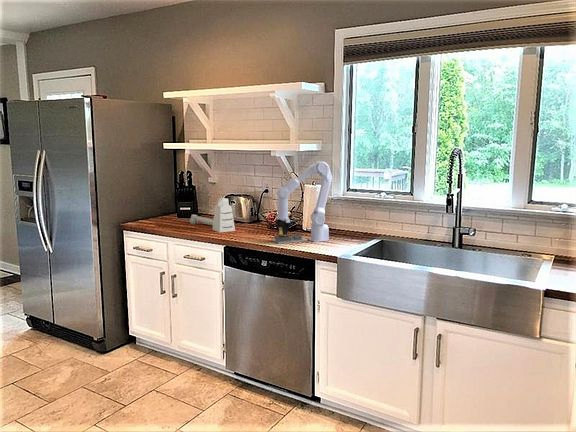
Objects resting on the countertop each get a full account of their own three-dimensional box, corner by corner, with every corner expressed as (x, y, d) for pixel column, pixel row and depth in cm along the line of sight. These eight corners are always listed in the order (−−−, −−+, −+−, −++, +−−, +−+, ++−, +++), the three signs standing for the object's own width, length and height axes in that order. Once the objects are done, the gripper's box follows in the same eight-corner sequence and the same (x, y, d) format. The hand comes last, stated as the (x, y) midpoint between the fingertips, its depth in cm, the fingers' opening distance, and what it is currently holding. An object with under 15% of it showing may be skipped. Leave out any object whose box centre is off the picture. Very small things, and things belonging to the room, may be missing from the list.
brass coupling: (285, 238, 268) (285, 226, 267) (288, 240, 263) (288, 227, 262) (277, 239, 266) (277, 226, 265) (280, 240, 262) (280, 228, 261)
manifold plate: (300, 238, 275) (300, 233, 274) (307, 241, 267) (307, 235, 266) (271, 240, 267) (271, 235, 267) (277, 243, 259) (277, 238, 259)
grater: (227, 228, 306) (226, 197, 302) (235, 230, 297) (234, 198, 294) (212, 229, 300) (211, 198, 297) (219, 232, 291) (219, 199, 288)
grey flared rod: (216, 221, 307) (188, 213, 320) (215, 231, 309) (187, 222, 322) (221, 220, 312) (193, 212, 325) (220, 230, 313) (193, 221, 326)
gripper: (271, 208, 267) (271, 232, 269) (281, 211, 254) (281, 236, 256) (282, 207, 270) (282, 231, 272) (293, 210, 257) (293, 235, 259)
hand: (282, 233), depth 265 cm, fingers open, 5 cm apart
